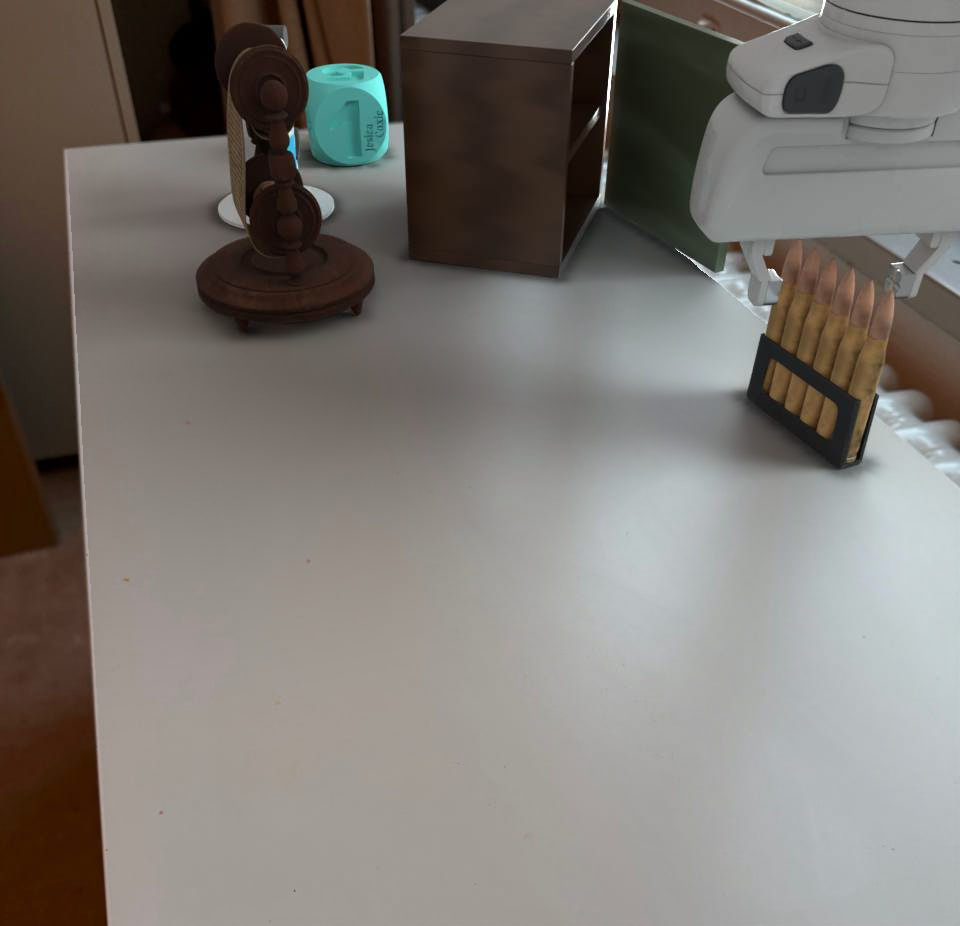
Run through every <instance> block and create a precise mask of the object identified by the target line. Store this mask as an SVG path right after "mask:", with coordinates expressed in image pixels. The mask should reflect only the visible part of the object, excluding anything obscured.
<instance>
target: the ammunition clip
mask: <svg viewBox="0 0 960 926" xmlns="http://www.w3.org/2000/svg"><path fill="white" fill-rule="evenodd" d="M802 260H803V244H802V240H801V239H794V241H793V243H792V244H791V246H790V249H789V250H788V253H787V255H786V257H785V261H784V264H783V266H782V271H781V276H780V278H781V279H782V280H783V283H782V287H781V291H780V292H779V293H778V296H779V301H778V303H777V305H770V311H769V316H768V321H767V325H766V330H765V332H762V333H760V336H759V341H758V345H757V348H756V353H755V357H754V362H753V365H752V370H751V374H750V379H749V382H748V386H747V391H746V398H747V399H748V400H750V401H751V402H753V403H754V404H755V405H756V406H758V407H759V408H760V409H762V410H763V411H764V412H766V413H767V414H768V415H769V416H770V417H772V418H773V419H775V420H776V421H777V422H778V423H780V425H782V426H783V427H784V428H786V429H787V430H788V431H790V432H791V433H792V434H793V435H795V436H796V437H797V438H798V439H800V440H801V441H803V443H805V444H806V445H808V447H810V448H811V449H813V450H814V451H816V452H817V453H818V454H819V455H821V456H822V457H823V458H824V459H826V460H827V461H828V462H830V463H831V464H832V465H833V466H835V467H836V468H838V469H839V470H841V469H844V468H848V467H852V466H854V465H858V464H861V463H862V462H863V458H864V455H865V450H866V447H867V443H868V439H869V436H870V432H871V427H872V424H873V421H874V416H875V415H876V414H875V413H876V410H877V405H878V402H879V399H880V394H878V393H877V389H878V386H879V382H880V379H881V375H882V372H883V369H884V366H885V362H886V352H887V347H888V342H889V338H890V337H889V336H890V333H891V329H892V325H893V321H894V316H895V315H894V314H895V299H894V295H893V292H892V291H890V292H889V293H888V294H887V293H886V295H885V296H884V297H883V298H882V300H881V301H880V304H879V305H878V307H877V309H876V312H875V314H874V316H873V319H872V321H871V318H872V315H873V310H874V302H875V284H874V280H873V279H869V280H868V281H867V282H866V283H865V284H864V286H863V288H862V289H861V291H860V292H859V295H858V296H857V298H856V301H855V303H854V306H853V302H854V298H855V289H856V277H855V270H854V268H853V267H852V268H849V269H848V270H847V272H846V273H845V274H844V276H843V278H842V280H841V281H840V283H839V286H838V287H837V290H836V286H837V277H838V275H837V273H838V271H837V270H838V269H837V266H838V265H837V260H836V258H835V257H831V258H830V259H829V261H828V262H827V264H826V265H825V267H824V269H823V271H822V272H821V275H820V277H819V272H820V254H819V250H818V247H814V248H812V250H811V251H810V252H809V254H808V256H807V258H806V260H805V262H804V264H803V266H802V263H803V261H802ZM818 279H819V280H818ZM852 307H853V308H852ZM870 323H871V324H870Z"/></svg>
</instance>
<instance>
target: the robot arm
mask: <svg viewBox="0 0 960 926" xmlns="http://www.w3.org/2000/svg"><path fill="white" fill-rule="evenodd" d="M743 42H744V43H742V44H740V45H738V46H737V47H735V48H734V49H733V50H732V51H731V53H730V55H729V58H728V62H727V69H726V77H727V81H728V82H729V84H730V86H731V87H732V89H733V90H734V91H735V92H734V93H732V94H730V95H729V96H727V97H726V98H724V99H723V100H722V101H721V102H720V103H719V105H718V106H717V107H716V109H715V110H714V112H713V114H712V116H711V118H710V120H709V122H708V125H707V128H706V131H705V134H704V138H703V141H702V145H701V148H700V152H699V156H698V160H697V165H696V169H695V174H694V179H693V184H692V190H691V196H690V211H691V215H692V217H693V219H694V220H695V222H696V224H697V225H698V227H699V228H700V229H701V230H702V232H703V233H704V234H705V235H706V236H707V237H708V238H709V239H710V240H711V241H713V242H728V243H732V242H733V243H737V242H739V245H740V246H739V247H740V248H741V251H742V253H743V256H744V258H745V261H746V264H747V267H748V268H749V269H748V270H749V272H750V277H749V282H748V287H747V299H748V301H749V302H750V304H751V305H752V306H753V307H766V306H772V305H777V303H778V301H779V296H778V293H779V292H780V291H781V287H782V283H783V280H782V279H781V276H779V275H778V273H777V272H776V271H775V269H773V268H771V269H770V268H767V265H766V262H765V259H764V257H771V256H772V255H773V254H774V249H775V244H776V241H777V240H778V241H780V240H781V241H782V240H796V239H802V240H804V239H823V238H824V239H825V238H847V237H848V238H849V237H869V236H890V235H891V236H892V235H911V234H914V235H915V236H916V237H917V238H918V239H919V240H918V241H917V242H916V244H914V246H913V248H912V249H911V250H910V251H909V252H908V254H907V255H906V256H905V258H904V259H903V261H902V262H894V263H893V262H891V263H890V264H889V268H888V270H887V276H888V277H887V278H886V279H885V281H884V292H885V293H886V295H887V294H888V293H889V292H890V291H892V292H893V295H894V300H896V299H897V300H898V299H914V298H916V297H917V295H918V294H919V290H920V287H921V283H922V281H923V277H924V274H927V273H928V272H929V270H930V269H932V267H933V266H934V265H935V264H937V262H938V261H939V260H940V259H941V258H942V257H943V256H944V254H945V253H946V252H947V251H948V250H949V249H950V247H951V244H952V241H953V238H954V236H955V233H957V232H958V233H959V232H960V0H823V2H822V8H821V12H818V13H816V14H813V15H811V16H809V17H807V18H805V19H803V20H802V19H801V20H800V21H797V22H795V23H792V24H790V25H788V26H785V27H782V28H780V29H777V30H775V31H774V30H773V31H772V32H768V33H767V34H763V35H761V36H758V37H755V38H752V39H750V40H747V41H743Z"/></svg>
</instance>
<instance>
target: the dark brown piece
mask: <svg viewBox="0 0 960 926" xmlns="http://www.w3.org/2000/svg"><path fill="white" fill-rule="evenodd" d="M266 25H267V24H264V23H261V22H257V21H243V22H239V23H236V24H234V25H232V26H231V27H229V28H228V29H227V30H225V32H224V33H223V34H222V35H221V37H220V38H219V40H218V42H217V44H216V48H215V53H214V69H215V73H216V77H217V79H218V81H219V83H220V84H221V87H222V88H223V89H224V91H225V92H226V93H227V94H226V95H227V96H226V97H227V98H226V136H227V137H226V138H227V152H228V166H229V179H230V188H231V194H232V196H233V201H234V204H235V207H236V210H237V212H238V215H239V217H240V219H241V221H242V223H243V225H244V228H245V229H244V230H245V232H246V234H247V236H246V237H243V238H239V239H237V240H235V241H231V242H230V243H227V244H226V245H223V246H221V247H220V248H219V249H217V250H216V251H215V252H213V253H211V254H210V255H209V256H207V257H206V258H205V259H204V260H203V261H202V262H201V263H200V264H199V266H198V268H197V269H196V272H195V283H196V288H197V294H198V297H199V299H200V300H201V301H202V302H203V304H204V305H206V306H207V307H208V308H210V309H211V310H212V311H215V312H216V313H218V314H221V315H223V316H226V317H229V318H232V319H234V323H235V325H236V326H237V328H238V330H239V332H241V333H243V334H244V333H246V332H248V329H249V327H250V326H249V325H250V322H253V323H260V324H261V323H263V324H289V323H290V324H292V323H300V322H301V323H302V322H309V321H314V320H318V319H323V318H327V317H330V316H333V315H336V314H339V313H342V312H344V311H347V310H349V309H350V310H351V312H352V314H353V315H354V316H359V315H361V314H362V310H363V306H364V305H363V304H364V300H365V299H366V298H367V297H368V296H369V295H370V294H371V292H372V291H373V289H374V287H375V284H376V273H375V264H374V261H373V259H372V257H371V256H370V254H369V253H367V252H366V251H365V250H364V249H362V248H361V247H359V246H357V245H355V244H354V243H351V242H350V241H347V240H345V239H342V238H340V237H338V236H334V235H331V234H326V233H322V232H321V230H322V225H323V224H322V223H323V220H322V213H321V209H320V206H319V204H318V201H317V200H316V198H315V197H314V195H313V194H312V193H311V192H310V191H309V190H307V189H306V188H305V187H303V185H304V181H303V177H302V175H301V173H300V172H299V168H298V169H297V168H296V162H295V158H294V155H293V153H292V152H291V151H289V150H287V149H288V147H289V144H290V138H289V134H288V133H289V132H290V131H291V130H292V128H293V126H294V127H295V123H296V122H298V121H299V119H300V118H301V117H302V116H303V114H304V112H305V108H306V105H307V102H308V97H309V84H308V79H307V76H306V74H307V72H306V71H305V68H304V67H303V65H302V63H301V61H299V59H298V58H297V57H296V56H295V55H294V54H293V53H292V52H290V51H289V50H288V49H286V47H285V44H284V43H283V41H282V40H281V38H280V37H279V36H278V35H277V33H276V32H274V31H273V30H272V29H271V28H269V27H267V26H266ZM242 119H243V120H244V121H245V124H246V129H247V133H248V136H249V137H250V138H251V143H252V144H254V145H256V147H255V154H254V157H252V158H250V159H249V160H247V161H246V160H245V143H244V133H243V122H242ZM246 215H247V216H248V217H249V223H250V225H249V224H248V223H247V221H246Z"/></svg>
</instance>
